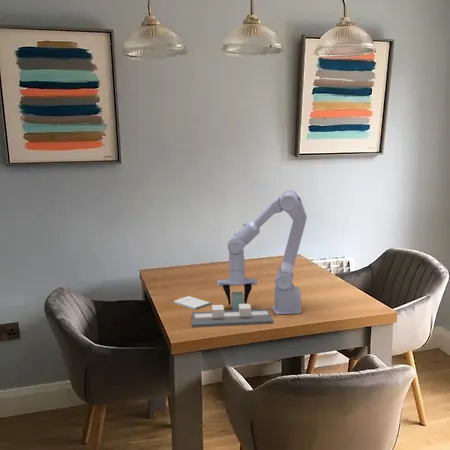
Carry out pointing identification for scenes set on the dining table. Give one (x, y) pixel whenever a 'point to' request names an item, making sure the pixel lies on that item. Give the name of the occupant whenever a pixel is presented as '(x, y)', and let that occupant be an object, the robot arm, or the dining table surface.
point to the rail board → (231, 316)
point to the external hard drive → (192, 303)
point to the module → (236, 300)
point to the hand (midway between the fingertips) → (237, 303)
